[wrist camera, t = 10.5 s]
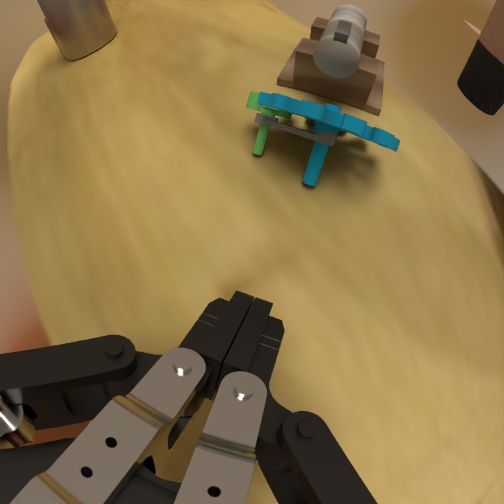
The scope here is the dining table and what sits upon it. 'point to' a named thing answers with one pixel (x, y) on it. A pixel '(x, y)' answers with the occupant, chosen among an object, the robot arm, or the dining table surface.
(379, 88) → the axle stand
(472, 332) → the dining table surface
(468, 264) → the dining table surface
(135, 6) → the dining table surface
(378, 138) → the gear
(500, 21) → the travel mug
